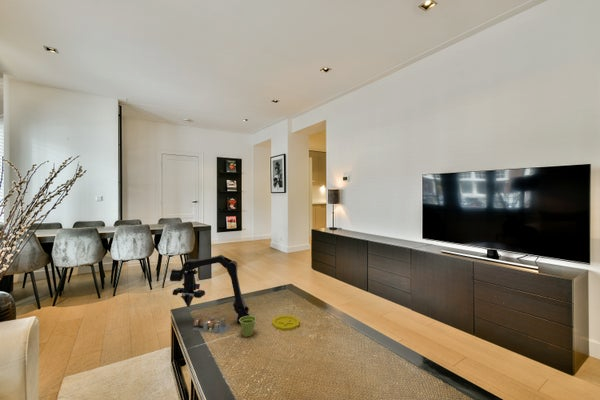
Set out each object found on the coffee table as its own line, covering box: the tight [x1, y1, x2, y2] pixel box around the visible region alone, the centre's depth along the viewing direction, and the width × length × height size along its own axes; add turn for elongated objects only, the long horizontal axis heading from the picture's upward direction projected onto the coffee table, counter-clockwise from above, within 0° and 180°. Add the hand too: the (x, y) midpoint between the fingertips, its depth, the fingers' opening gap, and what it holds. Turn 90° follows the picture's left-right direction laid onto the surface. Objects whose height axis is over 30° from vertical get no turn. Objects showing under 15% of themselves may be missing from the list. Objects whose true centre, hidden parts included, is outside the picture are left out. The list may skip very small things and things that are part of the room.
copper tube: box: [193, 318, 216, 329], centre depth 158 cm, size 12×4×4 cm, turn 77°
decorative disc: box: [271, 314, 301, 332], centre depth 167 cm, size 17×18×2 cm
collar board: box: [192, 316, 232, 335], centre depth 157 cm, size 20×10×6 cm, turn 77°
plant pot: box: [239, 315, 257, 338], centre depth 153 cm, size 9×9×9 cm
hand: (188, 306), depth 161 cm, fingers closed
